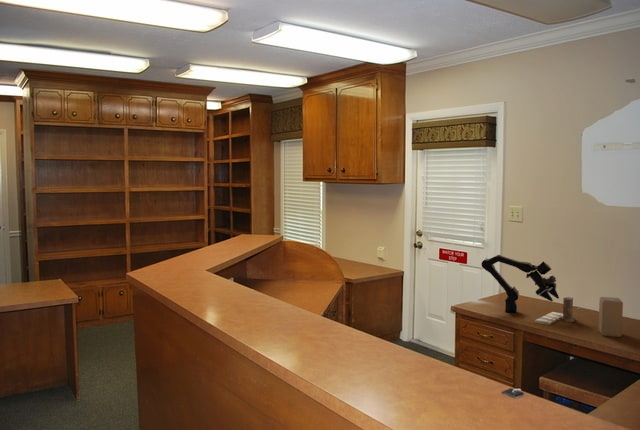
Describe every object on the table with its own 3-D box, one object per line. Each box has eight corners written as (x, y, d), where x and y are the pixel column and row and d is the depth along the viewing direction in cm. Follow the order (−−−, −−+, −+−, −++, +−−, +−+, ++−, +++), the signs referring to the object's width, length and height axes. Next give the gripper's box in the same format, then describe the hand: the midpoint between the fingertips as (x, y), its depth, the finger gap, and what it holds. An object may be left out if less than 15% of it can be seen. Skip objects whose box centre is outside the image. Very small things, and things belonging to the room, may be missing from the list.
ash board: (548, 325, 307) (548, 322, 307) (534, 322, 313) (534, 320, 313) (565, 316, 325) (565, 314, 325) (552, 313, 331) (552, 311, 331)
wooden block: (618, 332, 292) (619, 297, 290) (622, 337, 282) (623, 301, 281) (598, 330, 295) (599, 296, 293) (601, 336, 286) (602, 300, 284)
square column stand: (559, 320, 316) (560, 297, 315) (563, 317, 321) (564, 295, 320) (571, 322, 311) (572, 299, 310) (575, 320, 316) (576, 297, 315)
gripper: (541, 274, 317) (559, 294, 310) (553, 269, 329) (571, 289, 322) (528, 284, 323) (545, 305, 316) (541, 280, 336) (557, 299, 329)
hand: (555, 299), depth 321 cm, fingers open, 9 cm apart
